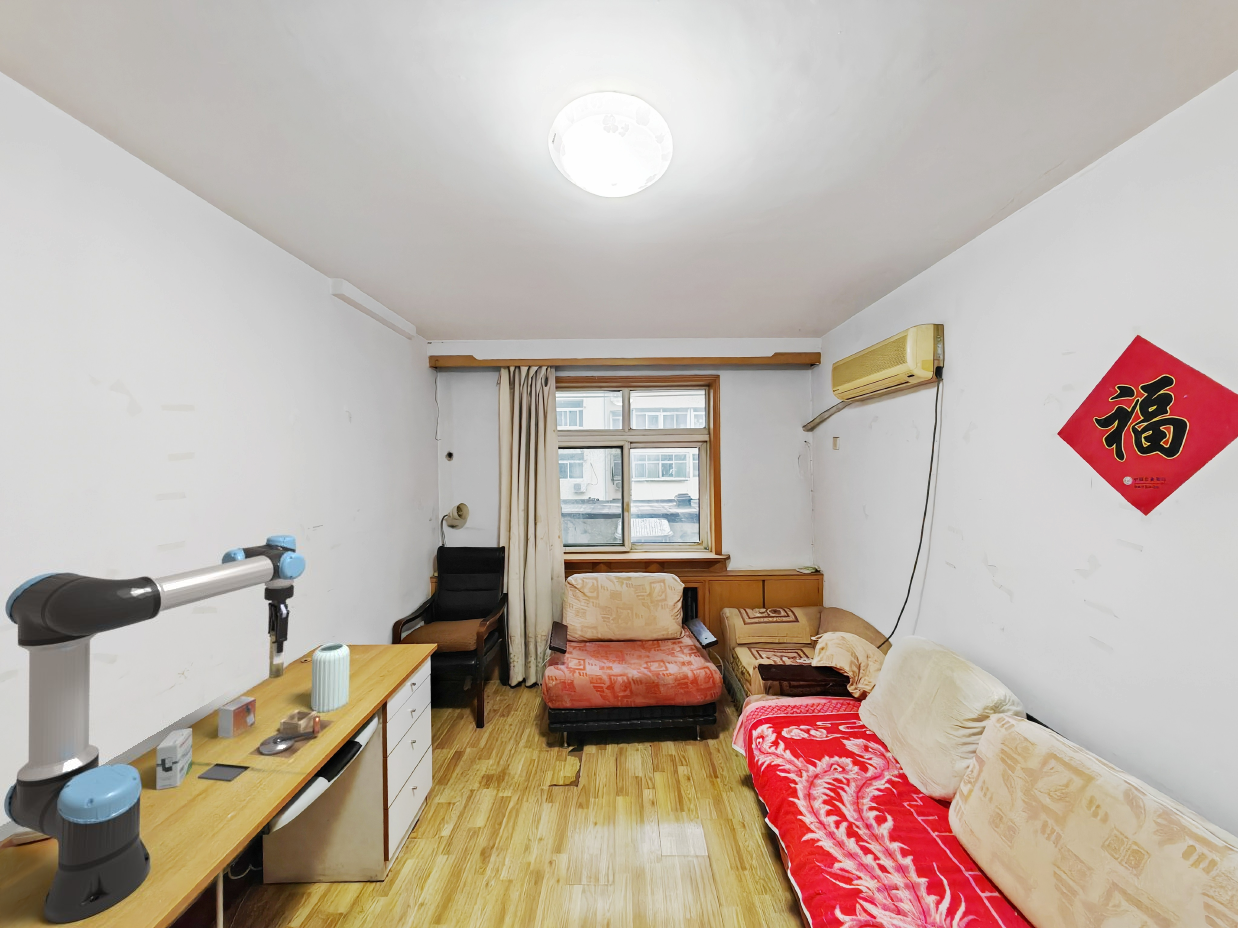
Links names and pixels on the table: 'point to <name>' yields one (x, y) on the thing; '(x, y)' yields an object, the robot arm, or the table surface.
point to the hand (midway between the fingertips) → (276, 660)
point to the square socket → (297, 721)
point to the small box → (236, 717)
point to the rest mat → (223, 772)
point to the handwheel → (286, 739)
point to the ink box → (174, 758)
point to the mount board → (296, 742)
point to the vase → (330, 677)
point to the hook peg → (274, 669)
